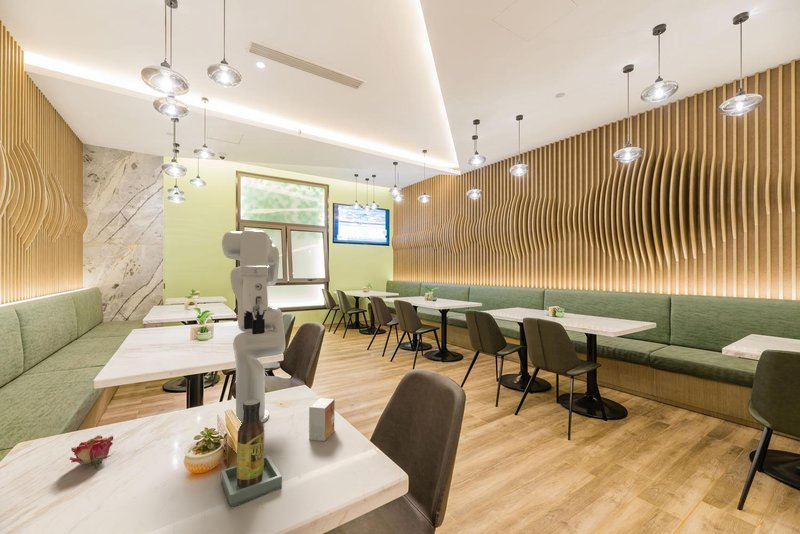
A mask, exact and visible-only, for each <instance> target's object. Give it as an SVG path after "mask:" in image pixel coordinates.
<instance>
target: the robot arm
mask: <svg viewBox="0 0 800 534" xmlns="http://www.w3.org/2000/svg"><path fill="white" fill-rule="evenodd" d="M221 248H222V253H223V254H224V256H225V258H227V259H230V260H235V261H236V260H237V261H239V266H236V267H234V268H232V270H231V271H230V278H229V279H230V285H231V289H232V292H233V294H234V296H235V299H236V301H237V327H238V328H239V330H240V331H241V333H238V334H236V336H235V337H234V339H233V343H232V345H233V351H234V359H235V414H236V416H237V417H238V419H239V420H240V421H241V423H243V416H244V415H243V414H244V410H243V403H244V402H245V401H247V400H251V399H257V400H260V408H259V416H260V417H259V420H260V421H261V422H262V423H264V422H266V421H267V420H268V419H269V417H270V411H268V410H267V409H265V408H266V407H265V406H266V397H265V396H266V390H265V389H266V385H265V384H266V370H265V367H264V365H263V363H261V361H260V360H258V358H259V359H261V358H266V357H275V356H280V355H283V353H284V352H285V351H286V336H285V332H286V331H285V324H284V316H283V311H282V310H281V308H280V307H277V306H269V300H268V299H269V298H268V297H269V296H268V287H272V286H275V285H276V284H277V282H278V278H279V266H280V252H279V249H278V247H277V246H276V245H275V244H273V239H272V238H271V237H270V235H269V234H268V233H267V232H265V231H264V230H258V229H246V230H245V229H244V230H242V231H233V230H232V231H226V232H225V233H224V235H223V236H222V241H221Z"/></svg>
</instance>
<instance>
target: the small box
mask: <svg viewBox="0 0 800 534" xmlns="http://www.w3.org/2000/svg"><path fill="white" fill-rule="evenodd" d="M335 404H336V403H335V399H334V398H325V397H320V398H318V399H317V400H316V401H315V402H314V403H313V404H312V405H310V406H308V407H309V408H308V417H309V418H308V421H309V422H308V440H310V441H320V442H321V441H322V442H326V440H327V439H328V438H329V437H330V436H331V434H332V433H333V432H334V431H335Z"/></svg>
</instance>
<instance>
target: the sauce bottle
mask: <svg viewBox="0 0 800 534" xmlns="http://www.w3.org/2000/svg"><path fill="white" fill-rule="evenodd" d="M259 408H260V400H257V399H251V400H247V401H245V402H244V403H243V410H244V414H243V415H244V416H243V423H242V424H241V426H240V427H239V428H238V431H237V442H236V443H237V444H236V446H237V447H236V448H237V449H236V466H237V484H238V485H239V486H241V487H248V486H251V485H254V484H257V483H258V482H260V481H261V479H262V477H263V469H264V455H265V454H264V453H265V427H264V424H263V422H261V421H260V420H259V417H260V416H259Z"/></svg>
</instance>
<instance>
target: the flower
mask: <svg viewBox="0 0 800 534" xmlns="http://www.w3.org/2000/svg"><path fill="white" fill-rule="evenodd" d="M112 441H114V435H110V436H108V437H104V436H102V435H96V436H95V437H93V438H90V439H89V440H87V441H82V442H80V443H79V445H78V446H75V447H71V450H70V451H71V452H72V453H73V456H75V457H73V456H70V457H69V460H70V461H71V463H78V464H81V465H86V466H89V465H93V470H95V469H98V464H99V463H102V462H103V461H104V460H107V459H108V458H110V456H111V455H113V454H114V453H115V451H113V452H112V453H111V454H109V452H110V449H111V447H112V446H113V442H112Z"/></svg>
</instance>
